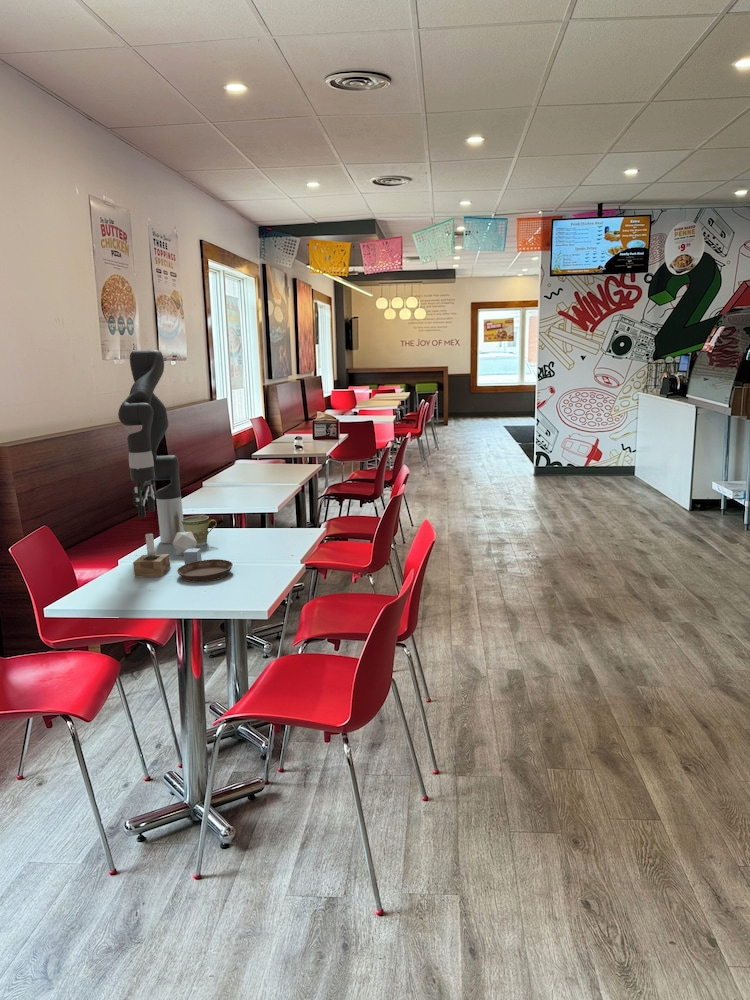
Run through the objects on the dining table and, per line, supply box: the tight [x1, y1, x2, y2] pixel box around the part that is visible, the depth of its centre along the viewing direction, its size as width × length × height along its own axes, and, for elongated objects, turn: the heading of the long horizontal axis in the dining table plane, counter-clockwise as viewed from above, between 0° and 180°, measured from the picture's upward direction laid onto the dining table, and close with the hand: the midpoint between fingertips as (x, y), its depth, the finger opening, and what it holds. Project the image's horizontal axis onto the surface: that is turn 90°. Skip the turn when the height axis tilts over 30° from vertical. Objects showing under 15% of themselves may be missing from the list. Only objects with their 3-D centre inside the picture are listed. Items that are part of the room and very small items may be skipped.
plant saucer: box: [176, 558, 233, 583], centre depth 243 cm, size 18×18×3 cm
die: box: [172, 532, 197, 556], centre depth 270 cm, size 8×9×10 cm
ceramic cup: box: [182, 515, 218, 547], centre depth 282 cm, size 13×10×10 cm
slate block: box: [183, 547, 203, 565], centre depth 256 cm, size 4×4×5 cm
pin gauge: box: [145, 533, 156, 560], centre depth 247 cm, size 2×2×12 cm
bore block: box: [132, 553, 172, 578], centre depth 248 cm, size 9×9×5 cm
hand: (146, 514), depth 244 cm, fingers open, 8 cm apart
